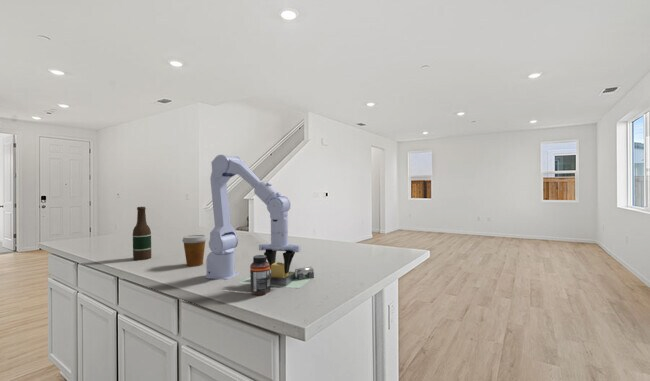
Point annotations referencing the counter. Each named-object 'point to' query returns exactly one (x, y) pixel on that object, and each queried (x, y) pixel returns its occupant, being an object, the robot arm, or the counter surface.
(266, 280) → the supplement bottle
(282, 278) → the frame
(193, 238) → the disposable coffee cup
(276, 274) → the yellow block
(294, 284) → the mat
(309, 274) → the shaft
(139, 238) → the beer bottle
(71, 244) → the counter surface
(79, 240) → the counter surface
